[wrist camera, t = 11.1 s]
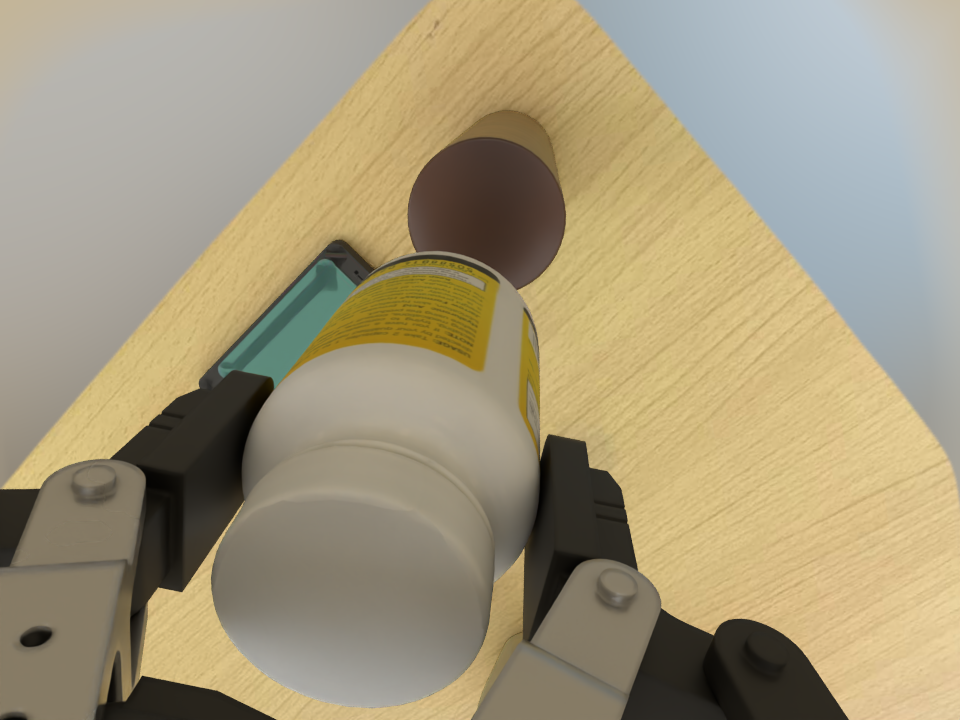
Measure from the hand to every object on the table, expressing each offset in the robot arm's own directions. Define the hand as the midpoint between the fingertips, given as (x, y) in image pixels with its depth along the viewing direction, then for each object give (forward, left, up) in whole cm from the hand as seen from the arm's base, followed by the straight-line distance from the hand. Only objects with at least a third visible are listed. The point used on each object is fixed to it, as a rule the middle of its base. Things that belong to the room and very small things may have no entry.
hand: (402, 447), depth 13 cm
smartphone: (-11, -13, -30) cm, 35 cm away
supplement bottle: (0, 0, -6) cm, 6 cm away
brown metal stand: (0, +2, -30) cm, 30 cm away
